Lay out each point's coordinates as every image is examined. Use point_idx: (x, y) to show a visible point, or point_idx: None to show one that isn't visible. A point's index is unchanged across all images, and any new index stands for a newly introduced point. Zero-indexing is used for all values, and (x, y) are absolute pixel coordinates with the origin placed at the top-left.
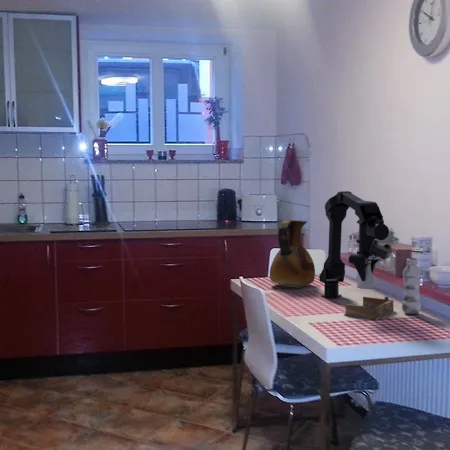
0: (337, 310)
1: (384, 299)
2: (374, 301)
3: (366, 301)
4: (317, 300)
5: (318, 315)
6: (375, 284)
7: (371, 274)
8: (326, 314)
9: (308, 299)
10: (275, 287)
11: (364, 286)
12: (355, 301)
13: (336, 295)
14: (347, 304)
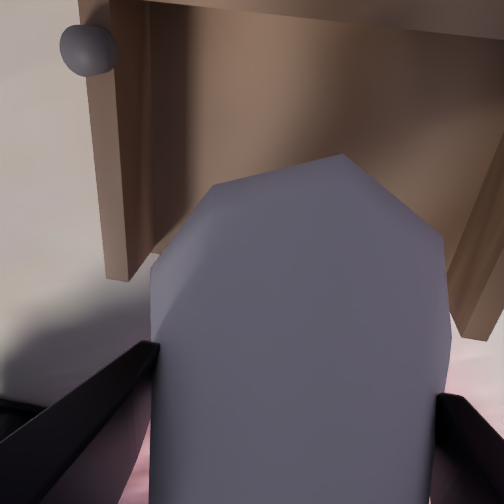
0: None
1: (109, 71)
2: (134, 172)
3: (140, 237)
4: (141, 464)
5: (497, 414)
6: (241, 208)
7: (331, 413)
8: (456, 385)
9: (147, 493)
10: None
11: (445, 326)
12: (32, 314)
13: (22, 419)
14: (482, 329)
